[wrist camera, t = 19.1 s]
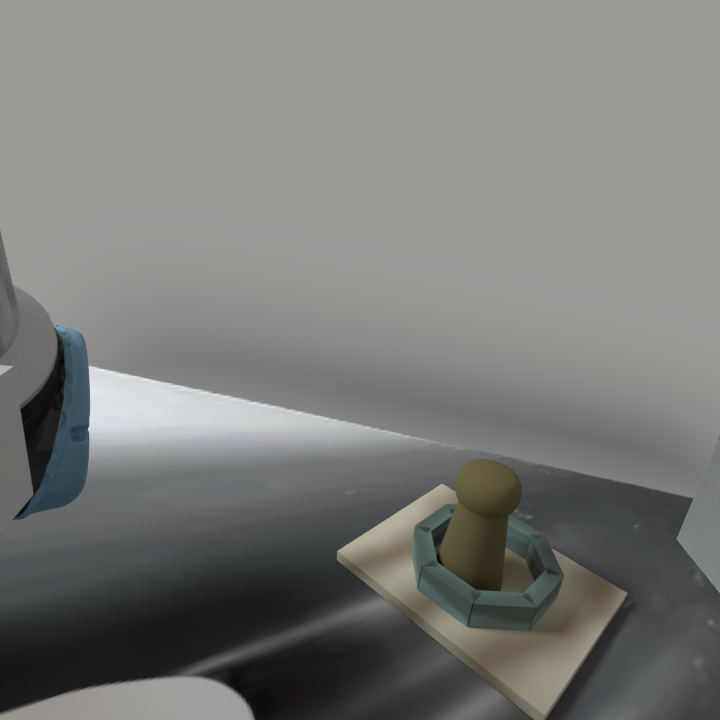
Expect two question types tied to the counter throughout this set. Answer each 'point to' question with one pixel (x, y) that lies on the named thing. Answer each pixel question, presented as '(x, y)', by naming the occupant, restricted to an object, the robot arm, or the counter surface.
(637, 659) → the counter surface
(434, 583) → the ring stand
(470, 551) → the cork
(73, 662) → the counter surface
